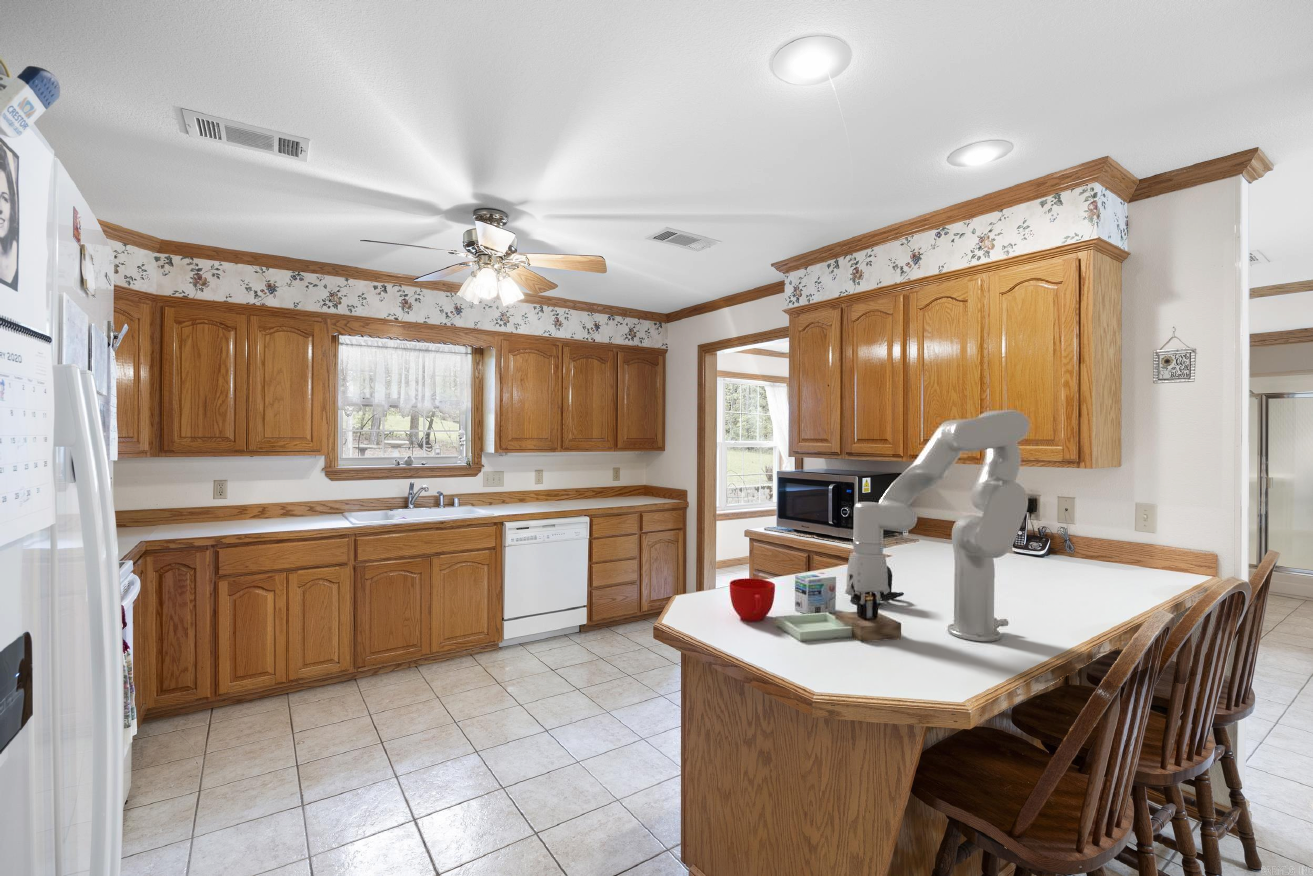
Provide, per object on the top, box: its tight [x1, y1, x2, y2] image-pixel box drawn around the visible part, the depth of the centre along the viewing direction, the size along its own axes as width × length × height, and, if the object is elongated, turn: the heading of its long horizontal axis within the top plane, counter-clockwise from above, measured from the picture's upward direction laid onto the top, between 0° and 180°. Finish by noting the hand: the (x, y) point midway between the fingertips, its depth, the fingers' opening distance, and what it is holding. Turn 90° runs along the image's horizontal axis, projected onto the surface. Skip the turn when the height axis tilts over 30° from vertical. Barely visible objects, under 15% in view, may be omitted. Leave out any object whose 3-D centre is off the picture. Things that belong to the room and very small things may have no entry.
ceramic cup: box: [729, 577, 776, 622], centre depth 176 cm, size 13×17×10 cm
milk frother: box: [849, 565, 905, 606], centre depth 196 cm, size 14×16×15 cm
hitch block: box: [834, 611, 902, 642], centre depth 165 cm, size 12×12×4 cm
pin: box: [863, 594, 873, 621], centre depth 165 cm, size 3×3×10 cm
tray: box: [774, 612, 852, 643], centre depth 167 cm, size 16×14×2 cm
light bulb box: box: [794, 571, 837, 614], centre depth 186 cm, size 11×7×11 cm, turn 114°
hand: (867, 616), depth 165 cm, fingers closed on pin, 2 cm apart
